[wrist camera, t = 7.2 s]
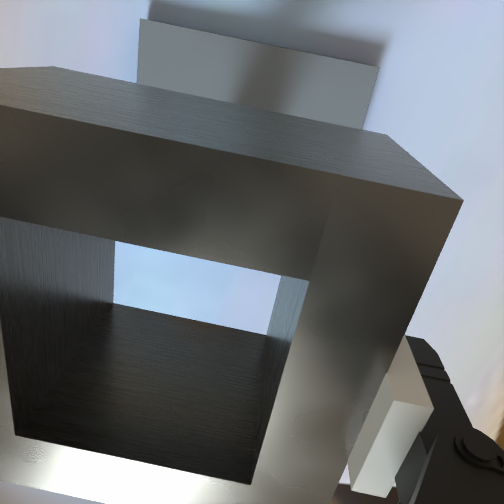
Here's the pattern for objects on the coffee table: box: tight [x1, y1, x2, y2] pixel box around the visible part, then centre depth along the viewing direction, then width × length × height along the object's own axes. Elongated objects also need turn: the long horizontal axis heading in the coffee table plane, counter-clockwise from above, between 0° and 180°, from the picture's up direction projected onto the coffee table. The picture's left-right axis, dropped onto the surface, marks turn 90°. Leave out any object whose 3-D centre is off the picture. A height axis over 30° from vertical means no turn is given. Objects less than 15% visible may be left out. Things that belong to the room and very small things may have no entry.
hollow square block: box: [0, 66, 464, 504], centre depth 11 cm, size 10×10×6 cm
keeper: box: [137, 18, 380, 129], centre depth 23 cm, size 14×14×9 cm
